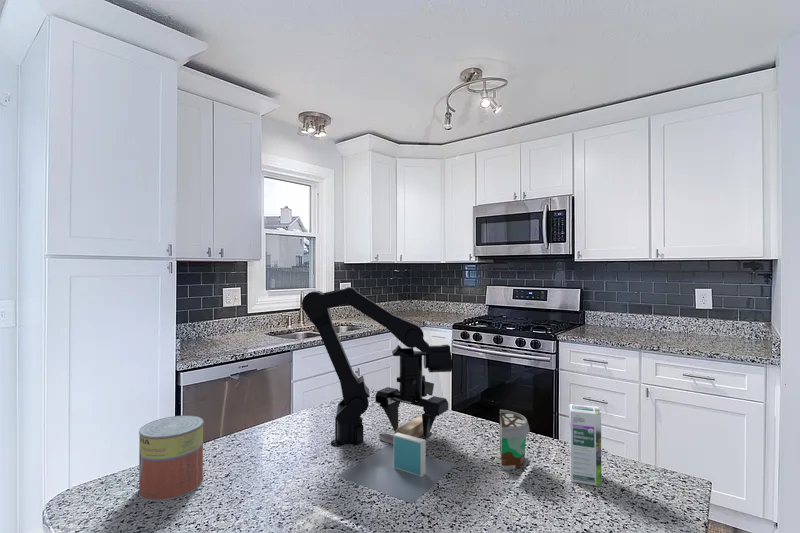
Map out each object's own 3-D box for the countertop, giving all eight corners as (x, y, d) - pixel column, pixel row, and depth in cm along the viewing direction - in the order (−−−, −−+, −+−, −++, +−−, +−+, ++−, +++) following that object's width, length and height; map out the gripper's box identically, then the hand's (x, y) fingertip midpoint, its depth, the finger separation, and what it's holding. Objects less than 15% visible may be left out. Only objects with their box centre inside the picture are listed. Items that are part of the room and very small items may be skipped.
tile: (393, 467, 88) (393, 434, 88) (397, 464, 89) (397, 432, 89) (421, 477, 84) (421, 442, 84) (425, 473, 85) (425, 439, 85)
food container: (532, 479, 85) (532, 430, 85) (501, 476, 86) (501, 428, 86) (526, 453, 97) (526, 410, 97) (499, 450, 98) (499, 408, 98)
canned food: (144, 478, 85) (144, 419, 85) (204, 467, 90) (204, 412, 90) (133, 507, 75) (133, 440, 75) (202, 493, 79) (202, 431, 79)
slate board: (337, 479, 84) (337, 475, 84) (388, 448, 99) (388, 444, 99) (412, 508, 74) (412, 503, 74) (456, 468, 89) (456, 464, 89)
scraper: (407, 427, 113) (407, 412, 113) (443, 436, 107) (443, 420, 107) (379, 443, 102) (379, 427, 102) (417, 454, 96) (417, 437, 96)
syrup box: (570, 482, 83) (570, 410, 84) (569, 469, 89) (569, 401, 89) (601, 487, 81) (601, 414, 82) (598, 473, 87) (598, 405, 87)
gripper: (458, 371, 106) (458, 432, 106) (398, 362, 116) (398, 417, 116) (437, 381, 96) (437, 447, 96) (374, 370, 107) (373, 430, 107)
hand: (410, 434), depth 104 cm, fingers open, 9 cm apart
